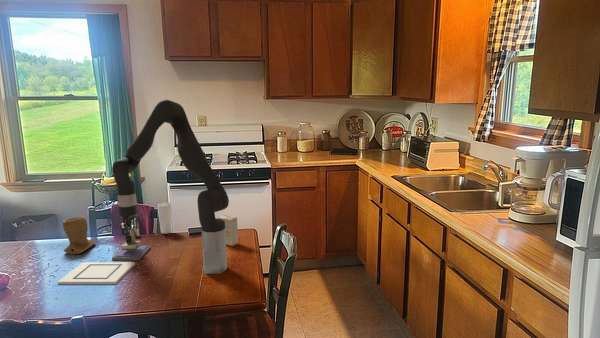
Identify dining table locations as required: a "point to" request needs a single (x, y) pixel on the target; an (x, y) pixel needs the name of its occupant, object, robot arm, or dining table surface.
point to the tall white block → (165, 217)
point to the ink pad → (131, 253)
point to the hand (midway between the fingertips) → (131, 241)
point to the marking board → (97, 273)
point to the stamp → (133, 245)
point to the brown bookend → (77, 235)
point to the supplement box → (230, 229)
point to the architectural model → (137, 231)
